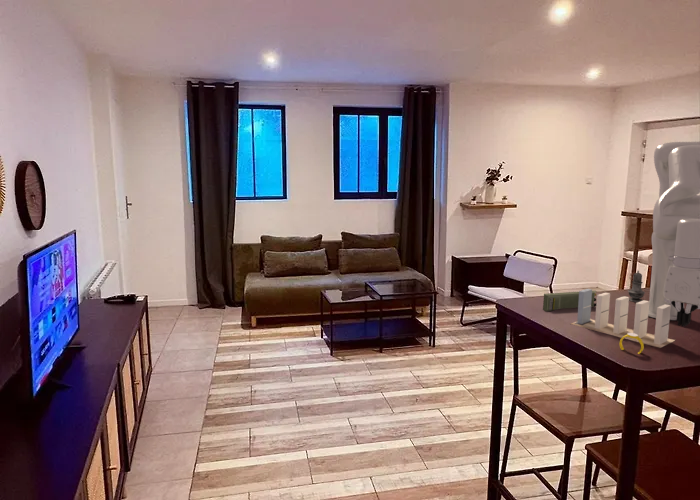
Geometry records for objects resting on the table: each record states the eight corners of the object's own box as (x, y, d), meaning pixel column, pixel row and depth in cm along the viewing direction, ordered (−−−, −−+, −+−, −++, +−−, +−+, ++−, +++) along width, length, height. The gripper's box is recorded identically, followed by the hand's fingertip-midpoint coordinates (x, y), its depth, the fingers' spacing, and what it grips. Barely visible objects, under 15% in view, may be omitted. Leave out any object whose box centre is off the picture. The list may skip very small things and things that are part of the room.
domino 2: (594, 327, 163) (596, 295, 161) (602, 324, 166) (605, 292, 164) (599, 329, 162) (602, 296, 160) (607, 325, 165) (610, 293, 163)
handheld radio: (541, 310, 187) (603, 305, 190) (546, 312, 184) (608, 308, 187) (542, 292, 185) (604, 289, 189) (547, 295, 182) (610, 291, 186)
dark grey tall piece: (646, 302, 192) (649, 272, 190) (630, 302, 194) (632, 272, 192) (641, 298, 198) (643, 269, 196) (625, 298, 199) (627, 268, 197)
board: (585, 320, 173) (586, 317, 173) (675, 342, 151) (675, 339, 151) (569, 326, 168) (569, 323, 167) (660, 350, 145) (660, 347, 145)
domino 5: (653, 343, 149) (656, 307, 147) (661, 339, 152) (664, 304, 150) (659, 344, 147) (663, 308, 145) (667, 340, 150) (671, 305, 148)
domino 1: (590, 321, 170) (592, 289, 168) (581, 324, 167) (583, 292, 165) (585, 319, 171) (587, 288, 169) (577, 322, 168) (579, 291, 166)
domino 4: (632, 337, 153) (635, 303, 152) (640, 334, 156) (643, 300, 155) (638, 339, 152) (641, 304, 150) (646, 335, 155) (649, 301, 153)
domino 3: (613, 332, 158) (615, 299, 156) (621, 329, 161) (623, 296, 159) (618, 334, 157) (621, 300, 155) (626, 330, 160) (629, 297, 158)
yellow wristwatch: (643, 356, 142) (646, 336, 141) (640, 358, 140) (643, 338, 139) (620, 349, 146) (623, 330, 145) (617, 351, 144) (620, 332, 143)
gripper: (654, 260, 145) (649, 321, 148) (715, 268, 133) (708, 334, 136) (666, 257, 149) (660, 316, 152) (725, 264, 137) (718, 328, 140)
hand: (683, 324), depth 144 cm, fingers closed
